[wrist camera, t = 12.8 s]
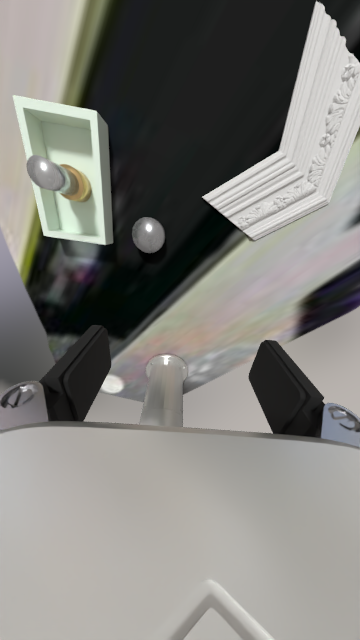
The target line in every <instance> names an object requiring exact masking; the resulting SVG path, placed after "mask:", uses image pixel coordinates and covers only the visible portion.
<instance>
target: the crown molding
mask: <svg viewBox="0 0 360 640" xmlns="http://www.w3.org/2000/svg"><path fill="white" fill-rule="evenodd" d="M345 43H346V39H345V37H344V36H343V37H341V36H340V33H339V29H338V28H336V21H335V20H331V17H330V16H329V15H327V14H325V7H324V6H323V4H320V3H318V2H317V1H316V3H315V6H314V10H313V14H312V18H311V22H310V26H309V30H308V34H307V38H306V42H305V46H304V50H303V54H302V59H301V63H300V67H299V71H298V75H297V79H296V83H295V87H294V91H293V95H292V99H291V103H290V107H289V111H288V115H287V119H286V123H285V127H284V131H283V136H282V140H281V144H280V148H279V151H278V152H276V153H274V154H273V155H271V156H269V157H268V158H266V159H265V160H263V161H261V162H260V163H258V164H256V165H255V166H253V167H251V168H250V169H248V170H246V171H245V172H243V173H241V174H240V175H238V176H236V177H235V178H233V179H231V180H230V181H228V182H226V183H225V184H223V185H221V186H220V187H218V188H216V189H215V190H213V191H211V192H210V193H208V194H206V195H205V196H203V197H202V198H203V199H205V200H206V201H207V202H208V203H209V204H211V205H212V206H213V207H214V208H215V209H217V210H218V211H219V212H220V213H221V214H223V215H224V216H225V217H226V218H227V219H229V220H230V221H231V222H232V223H233V224H235V225H236V226H237V227H238V228H240V229H241V230H242V231H243V232H244V233H246V234H247V235H248V236H249V237H250V238H252V239H253V240H254V241H255V240H257V239H259V238H261V237H263V236H265V235H267V234H269V233H271V232H273V231H275V230H277V229H279V228H281V227H283V226H285V225H287V224H289V223H291V222H293V221H295V220H297V219H299V218H301V217H303V216H305V215H307V214H309V213H311V212H313V211H315V210H317V209H319V208H321V207H323V206H325V205H327V204H329V202H330V199H331V197H332V194H333V192H334V189H335V187H336V184H337V182H338V179H339V177H340V174H341V171H342V169H343V166H344V164H345V161H346V159H347V156H348V154H349V151H350V149H351V146H352V144H353V141H354V139H355V136H356V134H357V131H358V129H359V126H360V63H359V62H358V60H357V59H356V58H355V56H354V55H353V54H350V53H349V51H348V50H347V48H346V46H345Z"/></svg>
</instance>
